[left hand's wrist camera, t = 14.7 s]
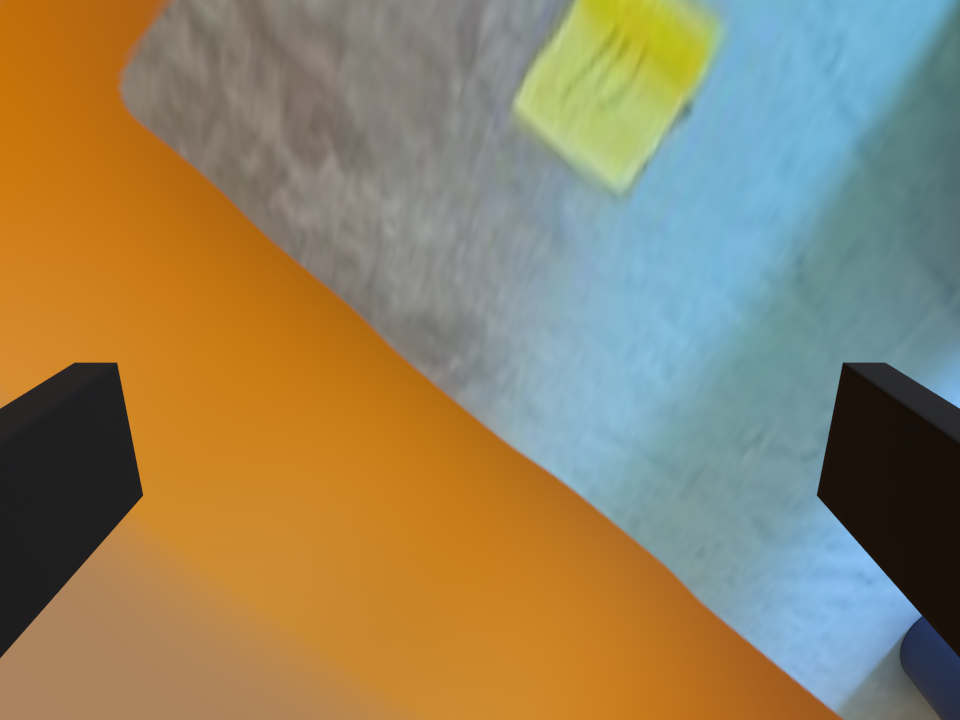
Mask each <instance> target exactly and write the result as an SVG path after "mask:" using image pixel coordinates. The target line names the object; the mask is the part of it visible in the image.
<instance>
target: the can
mask: <svg viewBox="0 0 960 720" xmlns="http://www.w3.org/2000/svg"><path fill="white" fill-rule="evenodd" d="M901 663H902V666H903V668H904V670H905V672H906V674H907V675H908V676H909V678H910V679H911V680H912V682H913V683H914V684H915V685H916V687H917V688H918V689H919V691H920V692H921V693H922V695H923V696H924V697H925V699H926V700H927V701H928V703H929V704H930V705H931V707H932V708H933V709H934V711H935V712H936V713H937V714H938V716H939V717H940V718H941V720H960V658H959V657H958V656H957V654H956V653H955V652H954V651H953V650H952V649H951V648H950V646H949V645H948V644H947V643H946V642H945V641H944V640H943V638H942V637H941V636H940V635H939V634H938V633H937V632H936V630H935V629H934V628H933V627H932V626H931V625H930V624H929V623H928V621H927V620H926V619H925V618H924V617H922V618H920V619H919V620H918V621H917V622H916V623H915V624H914V625H913V626H912V628H911V629H910V630H909V632H908V633H907V635H906V637H905V639H904V641H903V644H902V648H901Z"/></svg>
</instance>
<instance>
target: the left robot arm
mask: <svg viewBox="0 0 960 720" xmlns="http://www.w3.org/2000/svg"><path fill="white" fill-rule="evenodd" d="M142 496H143V492H142V487H141V482H140V477H139V472H138V467H137V462H136V457H135V452H134V446H133V442H132V436H131V431H130V426H129V421H128V416H127V411H126V406H125V401H124V396H123V391H122V386H121V380H120V375H119V370H118V365H117V363H74V364H72V365H70V366H69V367H67V368H65V369H64V370H62V371H61V372H59V373H57V374H56V375H54V376H52V377H51V378H49V379H48V380H46V381H44V382H43V383H41V384H39V385H38V386H36V387H35V388H33V389H31V390H30V391H28V392H27V393H25V394H23V395H22V396H20V397H18V398H17V399H15V400H14V401H12V402H10V403H9V404H7V405H6V406H4V407H2V408H1V409H0V658H1V657H2V655H3V654H4V653H5V652H6V651H7V650H8V649H9V648H10V646H11V645H12V644H13V643H14V642H15V641H16V640H17V638H18V637H19V636H20V635H21V634H22V633H23V632H24V630H25V629H26V628H27V627H28V626H29V625H30V624H31V622H32V621H33V620H34V619H35V618H36V617H37V616H38V615H39V613H40V612H41V611H42V610H43V609H44V608H45V607H46V605H47V604H48V603H49V602H50V601H51V600H52V599H53V597H54V596H55V595H56V594H57V593H58V592H59V591H60V589H61V588H62V587H63V586H64V585H65V584H66V583H67V581H68V580H69V579H70V578H71V577H72V576H73V575H74V573H75V572H76V571H77V570H78V569H79V568H80V567H81V565H82V564H83V563H84V562H85V561H86V560H87V559H88V558H89V556H90V555H91V554H92V553H93V552H94V551H95V550H96V549H97V547H98V546H99V545H100V544H101V543H102V542H103V541H104V539H105V538H106V537H107V536H108V535H109V534H110V533H111V531H112V530H113V529H114V528H115V527H116V526H117V525H118V523H119V522H120V521H121V520H122V519H123V518H124V517H125V515H126V514H127V513H128V512H129V511H130V510H131V509H132V508H133V506H134V505H135V504H136V503H137V502H138V501H139V500H140V498H141V497H142ZM817 496H818V497H819V498H820V500H821V501H822V502H823V503H824V504H825V505H826V506H827V508H828V509H829V510H830V511H831V512H832V513H833V514H834V515H835V517H836V518H837V519H838V520H839V521H840V522H841V523H842V525H843V526H844V527H845V528H846V529H847V530H848V531H849V533H850V534H851V535H852V536H853V537H854V538H855V539H856V541H857V542H858V543H859V544H860V545H861V546H862V547H863V549H864V550H865V551H866V552H867V553H868V554H869V555H870V556H871V558H872V559H873V560H874V561H875V562H876V563H877V564H878V566H879V567H880V568H881V569H882V570H883V571H884V572H885V574H886V575H887V576H888V577H889V578H890V579H891V580H892V582H893V583H894V584H895V585H896V586H897V587H898V588H899V589H900V591H901V592H902V593H903V594H904V595H905V596H906V597H907V599H908V600H909V601H910V602H911V603H912V604H913V605H914V607H915V608H916V609H917V610H918V611H919V612H920V613H921V615H922V616H923V617H924V618H925V619H926V620H927V621H928V623H929V624H930V625H931V626H932V627H933V628H934V629H935V630H936V632H937V633H938V634H939V635H940V636H941V637H942V638H943V640H944V641H945V642H946V643H947V644H948V645H949V646H950V648H951V649H952V650H953V651H954V652H955V653H956V654H957V656H958V657H959V658H960V409H959V408H958V407H956V406H954V405H953V404H951V403H950V402H948V401H946V400H945V399H943V398H942V397H940V396H938V395H937V394H935V393H933V392H932V391H930V390H929V389H927V388H925V387H924V386H922V385H921V384H919V383H917V382H916V381H914V380H912V379H911V378H909V377H908V376H906V375H904V374H903V373H901V372H900V371H898V370H896V369H895V368H893V367H891V366H890V365H888V364H887V363H843V365H842V370H841V375H840V380H839V386H838V391H837V396H836V401H835V406H834V411H833V416H832V421H831V426H830V431H829V436H828V441H827V446H826V452H825V457H824V462H823V467H822V472H821V477H820V482H819V487H818V492H817Z"/></svg>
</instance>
